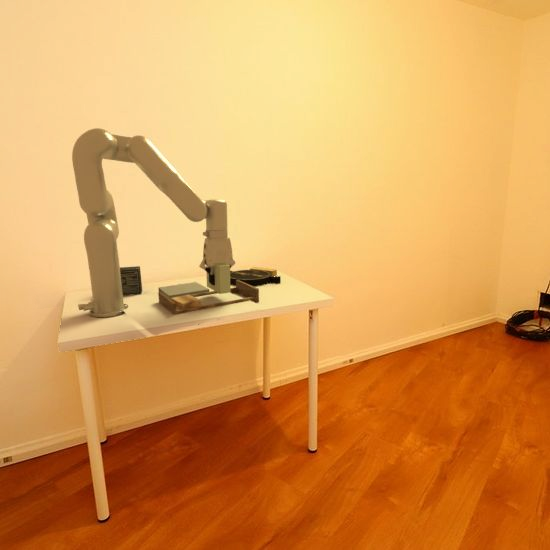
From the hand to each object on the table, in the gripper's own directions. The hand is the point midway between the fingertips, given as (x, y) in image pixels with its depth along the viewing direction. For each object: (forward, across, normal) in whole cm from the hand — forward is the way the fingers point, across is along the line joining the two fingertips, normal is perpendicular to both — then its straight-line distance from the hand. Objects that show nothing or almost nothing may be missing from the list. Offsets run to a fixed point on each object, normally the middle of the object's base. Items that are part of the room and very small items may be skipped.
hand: (218, 283), depth 142 cm
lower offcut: (+8, -12, 0) cm, 15 cm away
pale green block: (+2, 0, 0) cm, 2 cm away
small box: (+8, -25, +32) cm, 41 cm away
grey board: (+7, -7, +17) cm, 20 cm away
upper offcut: (+6, -13, 0) cm, 14 cm away
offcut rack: (+7, -3, 0) cm, 8 cm away
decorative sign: (+7, +28, +23) cm, 37 cm away
